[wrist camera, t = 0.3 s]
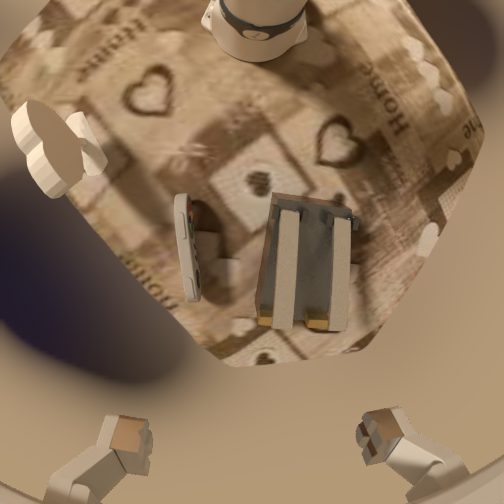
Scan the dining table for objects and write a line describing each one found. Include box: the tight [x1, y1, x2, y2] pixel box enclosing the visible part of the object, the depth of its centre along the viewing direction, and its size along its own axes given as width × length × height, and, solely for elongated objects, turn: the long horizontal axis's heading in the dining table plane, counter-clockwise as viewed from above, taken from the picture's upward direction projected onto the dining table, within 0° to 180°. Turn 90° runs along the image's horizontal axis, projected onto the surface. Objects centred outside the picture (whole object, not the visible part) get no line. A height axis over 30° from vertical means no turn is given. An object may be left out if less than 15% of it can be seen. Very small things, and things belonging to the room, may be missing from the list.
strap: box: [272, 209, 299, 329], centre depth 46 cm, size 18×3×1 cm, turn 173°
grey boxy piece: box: [255, 192, 360, 328], centre depth 54 cm, size 22×15×8 cm
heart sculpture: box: [11, 100, 108, 198], centre depth 38 cm, size 16×5×18 cm, turn 28°
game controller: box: [174, 193, 201, 302], centre depth 52 cm, size 20×2×8 cm, turn 3°
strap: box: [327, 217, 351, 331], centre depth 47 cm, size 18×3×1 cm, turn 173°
